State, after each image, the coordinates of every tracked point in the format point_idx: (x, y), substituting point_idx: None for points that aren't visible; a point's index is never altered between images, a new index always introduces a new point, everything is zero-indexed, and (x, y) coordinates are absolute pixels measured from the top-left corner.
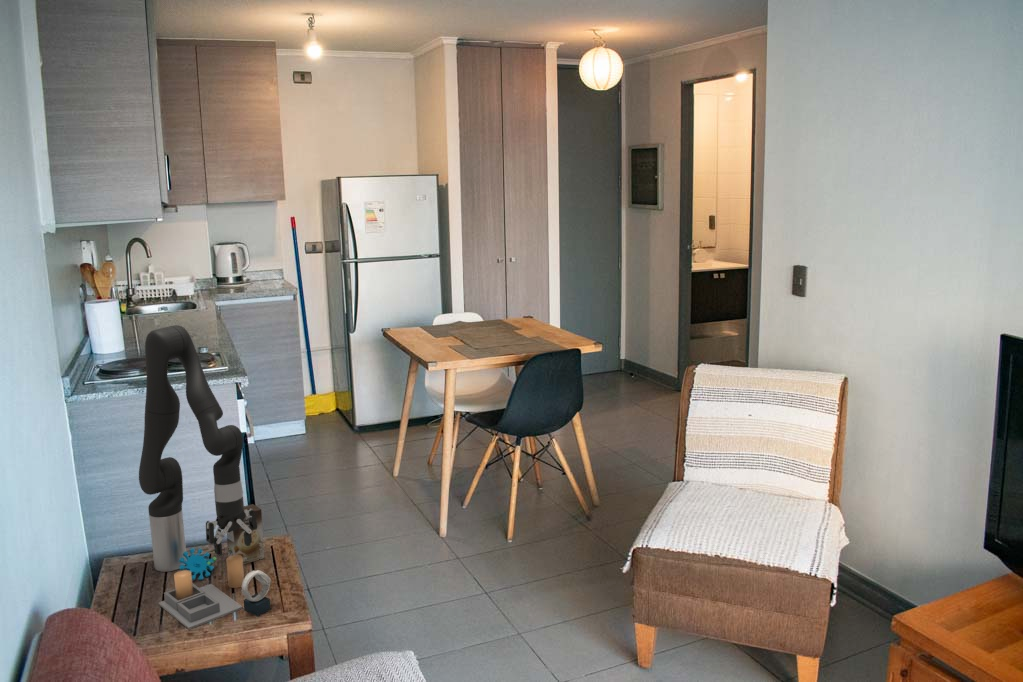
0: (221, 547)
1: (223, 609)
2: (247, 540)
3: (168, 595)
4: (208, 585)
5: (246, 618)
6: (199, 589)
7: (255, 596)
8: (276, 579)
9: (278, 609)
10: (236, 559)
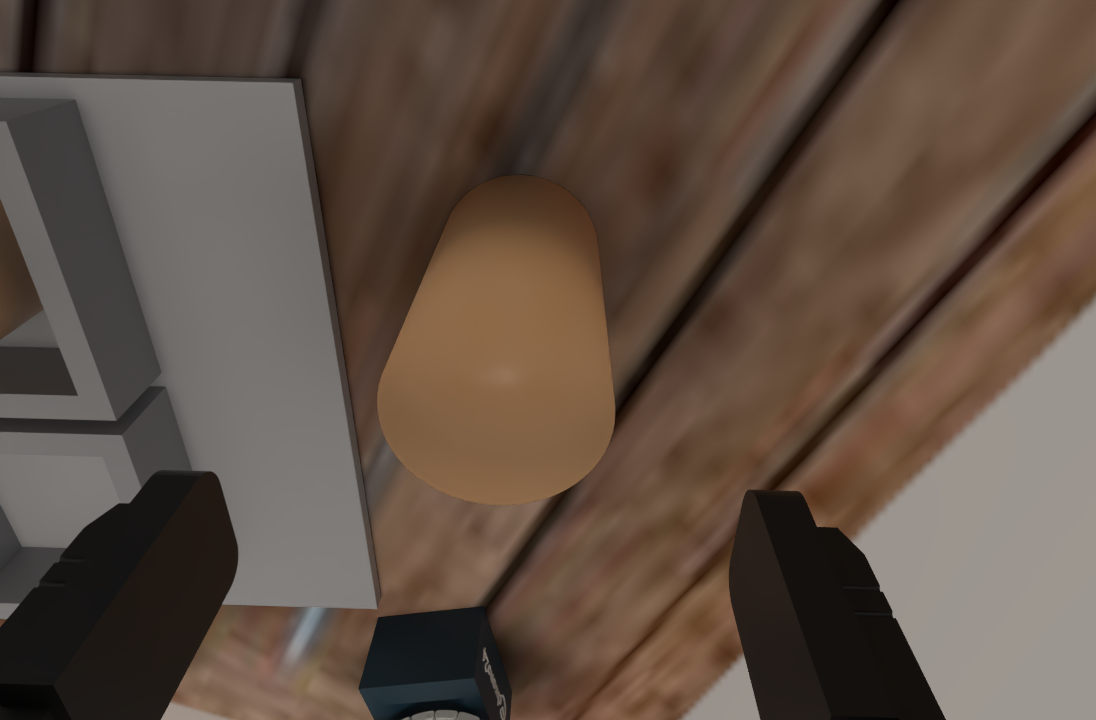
0: (161, 704)
1: (252, 561)
2: (753, 676)
3: None
4: (257, 103)
5: (352, 681)
6: (71, 337)
7: (449, 697)
8: (814, 425)
9: (544, 713)
10: (501, 466)
